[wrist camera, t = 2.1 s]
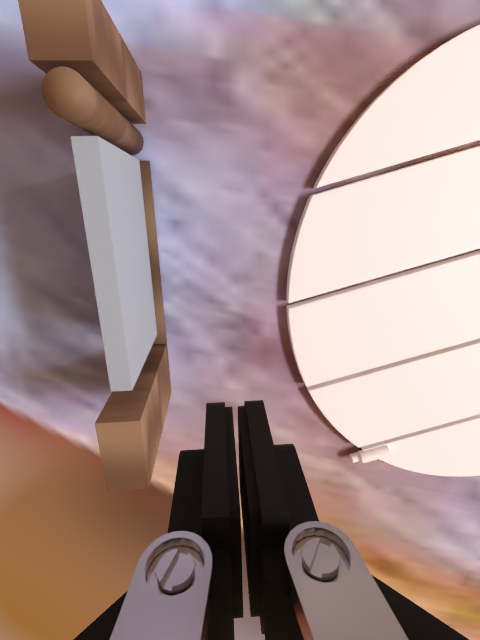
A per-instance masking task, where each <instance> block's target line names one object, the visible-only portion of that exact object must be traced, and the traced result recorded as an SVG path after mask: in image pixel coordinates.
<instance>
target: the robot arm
mask: <svg viewBox="0 0 480 640" xmlns="http://www.w3.org/2000/svg"><path fill="white" fill-rule="evenodd" d="M238 437H239V476H240V494H241V506H242V518H243V530H244V542H245V553H246V564H247V565H246V566H247V577H248V589H249V601H250V613H251V617H255V616H260V622H261V631H262V634H265V640H469V639H467V638H466V637H464V636H463V635H461V634H460V633H458V632H457V631H455V630H454V629H452V628H451V627H449V626H448V625H446V624H445V623H443V622H442V621H440V620H439V619H437V618H436V617H434V616H433V615H431V614H430V613H428V612H427V611H425V610H424V609H422V608H421V607H419V606H418V605H416V604H415V603H413V602H412V601H410V600H409V599H407V598H406V597H404V596H403V595H401V594H400V593H398V592H397V591H395V590H394V589H392V588H391V587H389V586H388V585H386V584H385V583H383V582H381V581H380V580H378V579H377V578H375V577H374V576H372V575H371V573H370V571H369V570H368V568H367V566H366V564H365V563H364V561H363V559H362V557H361V556H360V554H359V552H358V550H357V549H356V547H355V545H354V544H353V542H352V541H351V540H350V539H349V537H348V536H347V535H346V534H345V533H343V532H342V531H341V530H340V529H338V528H337V527H335V526H332V525H330V524H328V523H324V522H319V520H318V517H317V514H316V511H315V508H314V504H313V501H312V498H311V495H310V492H309V489H308V486H307V483H306V480H305V477H304V474H303V471H302V468H301V465H300V462H299V459H298V455H297V452H296V449H295V447H294V445H293V444H283V445H274V444H273V440H272V436H271V432H270V428H269V424H268V420H267V415H266V411H265V407H264V403H263V400H260V401H245V403H244V406H239V407H238ZM241 554H242V553H241V519H240V502H239V489H238V476H237V464H236V451H235V438H234V426H233V413H232V407H225V402H222V403H207V405H206V425H205V445H204V449H200V450H184V451H180V455H179V461H178V468H177V474H176V481H175V488H174V494H173V501H172V508H171V515H170V521H169V528H168V534H165V535H162V536H161V537H159V538H158V539H156V540H155V541H153V542H152V543H151V545H149V546H148V547H147V549H146V550H145V551H144V552H143V554H142V556H141V558H140V560H139V562H138V565H137V567H136V570H135V573H134V575H133V578H132V581H131V583H130V586H129V589H128V591H127V592H126V593H125V594H123V595H122V597H120V598H119V599H118V600H117V601H116V602H115V603H114V604H112V605H111V606H110V607H109V608H108V609H107V610H106V611H105V612H104V613H102V614H101V615H100V616H99V617H98V618H97V619H96V620H95V621H94V622H93V623H91V624H90V625H89V626H88V627H87V628H86V629H85V630H84V631H83V632H81V633H80V634H79V635H78V636H77V637H76V638H75V639H74V640H234V618H243V593H242V555H241Z"/></svg>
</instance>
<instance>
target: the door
mask: <svg viewBox="0 0 480 640" xmlns="http://www.w3.org/2000/svg"><path fill="white" fill-rule="evenodd" d="M70 137H71V143H72V149H73V156H74V162H75V168H76V175H77V181H78V187H79V194H80V200H81V206H82V212H83V219H84V225H85V231H86V238H87V244H88V250H89V257H90V263H91V269H92V276H93V282H94V288H95V295H96V301H97V307H98V314H99V320H100V326H101V333H102V339H103V345H104V352H105V358H106V364H107V370H108V377H109V383H110V389H111V392H113V391H132V390H133V388H134V385H135V383H136V381H137V379H138V376H139V374H140V372H141V370H142V368H143V365H144V363H145V361H146V359H147V356H148V354H149V352H150V350H151V347H152V345H153V343H154V341H155V338H156V336H157V327H156V317H155V307H154V298H153V288H152V278H151V268H150V259H149V249H148V239H147V230H146V220H145V210H144V201H143V191H142V181H141V172H140V162H139V160H138V159H136V158H135V157H133V156H131V155H129V154H128V153H126V152H124V151H123V150H121V149H119V148H118V147H116V146H114V145H112V144H111V143H109V142H107V141H106V140H104V139H102V138H100V137H99V136H70Z"/></svg>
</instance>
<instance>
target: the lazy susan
mask: <svg viewBox="0 0 480 640" xmlns="http://www.w3.org/2000/svg"><path fill="white" fill-rule="evenodd" d="M477 140H480V24H479V25H477V26H475V27H473V28H471V29H469V30H467V31H465V32H463V33H461V34H460V35H458V36H456V37H454V38H452V39H451V40H449V41H447V42H446V43H444V44H443V45H441V46H439V47H438V48H436V49H435V50H434V51H432V52H431V53H429V54H428V55H426V56H425V57H423V58H422V59H421V60H419V61H418V62H417V63H415V64H414V65H412V66H411V67H410V68H409V69H407V70H406V71H405V72H404V73H402V74H401V75H400V76H399V77H398V78H397V79H395V80H394V81H393V82H392V83H391V84H390V85H389V86H388V87H387V88H385V89H384V90H383V91H382V92H381V93H380V94H379V95H378V96H377V97H376V98H375V99H374V100H373V101H372V102H371V104H370V105H369V106H368V107H367V108H366V109H365V110H364V111H363V112H362V114H361V115H360V116H359V117H358V118H357V120H356V121H355V122H354V123H353V124H352V126H351V127H350V128H349V130H348V131H347V132H346V134H345V135H344V136H343V138H342V139H341V141H340V142H339V143H338V145H337V146H336V148H335V149H334V151H333V153H332V154H331V156H330V157H329V159H328V161H327V162H326V164H325V166H324V168H323V169H322V171H321V173H320V175H319V177H318V179H317V181H316V183H315V185H314V187H313V188H318V187H321V186H324V185H328V184H331V183H334V182H338V181H341V180H345V179H348V178H351V177H355V176H358V175H362V174H365V173H368V172H372V171H375V170H379V169H382V168H385V167H389V166H392V165H396V164H399V163H402V162H406V161H409V160H412V159H416V158H419V157H423V156H426V155H429V154H433V153H436V152H440V151H443V150H446V149H450V148H453V147H457V146H460V145H463V144H467V143H470V142H473V141H477ZM479 248H480V145H479V146H476V147H473V148H469V149H466V150H462V151H459V152H456V153H452V154H449V155H445V156H442V157H439V158H435V159H432V160H428V161H425V162H422V163H418V164H415V165H411V166H408V167H405V168H401V169H398V170H394V171H391V172H388V173H384V174H381V175H377V176H374V177H371V178H367V179H364V180H360V181H357V182H354V183H350V184H347V185H344V186H340V187H337V188H333V189H330V190H327V191H323V192H320V193H316V194H313V195H310V196H309V198H308V200H307V203H306V205H305V208H304V210H303V213H302V216H301V219H300V222H299V225H298V228H297V231H296V235H295V239H294V243H293V247H292V251H291V256H290V262H289V269H288V277H287V290H286V301H287V302H288V303H292V302H295V301H298V300H302V299H305V298H309V297H312V296H316V295H319V294H323V293H326V292H330V291H333V290H337V289H340V288H344V287H347V286H351V285H354V284H358V283H361V282H365V281H368V280H371V279H375V278H378V277H382V276H385V275H389V274H392V273H396V272H399V271H403V270H406V269H410V268H413V267H417V266H420V265H424V264H427V263H431V262H434V261H437V260H441V259H444V258H448V257H451V256H455V255H458V254H462V253H465V252H469V251H472V250H476V249H479ZM286 310H287V323H288V331H289V337H290V342H291V347H292V351H293V354H294V358H295V361H296V364H297V367H298V370H299V372H300V375H301V377H302V379H303V381H304V383H305V385H306V387H307V389H308V391H309V393H310V395H311V397H312V398H313V400H314V402H315V403H316V405H317V406H318V408H319V409H320V411H321V412H322V413H323V415H324V416H325V417H326V419H327V420H328V421H329V422H330V423H331V424H332V425H333V427H334V428H335V429H336V430H337V431H338V432H339V433H341V434H342V435H343V436H344V437H345V438H346V439H347V440H349V441H350V442H351V443H353V444H354V445H355V446H357V447H358V448H359V447H361V449H362V450H360V451H357V452H355V453H351V454H350V458H351V460H352V462H353V463H354V462H358V461H360V462H361V463H366V462H369V461H373V460H377V459H379V460H381V461H383V462H386V463H388V464H391V465H393V466H396V467H399V468H402V469H406V470H409V471H413V472H418V473H423V474H429V475H437V476H478V475H480V250H479V251H475V252H472V253H468V254H465V255H461V256H458V257H454V258H451V259H447V260H444V261H440V262H437V263H433V264H430V265H427V266H423V267H420V268H416V269H413V270H409V271H406V272H402V273H399V274H395V275H392V276H388V277H385V278H381V279H378V280H374V281H371V282H367V283H364V284H360V285H357V286H353V287H350V288H346V289H343V290H340V291H336V292H333V293H329V294H326V295H322V296H319V297H315V298H312V299H308V300H305V301H301V302H298V303H294V304H291V305H287V306H286Z"/></svg>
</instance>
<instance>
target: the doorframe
mask: <svg viewBox="0 0 480 640" xmlns="http://www.w3.org/2000/svg"><path fill="white" fill-rule="evenodd" d="M18 1H19V7H20V12H21V18H22V23H23V29H24V34H25V40H26V45H27V51H28V57H29V60H30V61H31V62H32V63H33V64H35V65H36V66H37V67H39V68H40V69H41V70H42V71H44V72H45V73H46V76H45V78H44V81H43V96H44V99H45V101H46V103H47V105H48V106H49V108H50V109H51V110H52V111H53V112H54V113H55V114H57V115H59V116H60V117H62V118H64V119H66V120H67V121H69V122H71V123H73V124H74V125H76V126H78V127H80V128H81V129H83V130H85V131H87V132H88V133H90V134H92V135H94V136H99V137H100V138H102V139H104V140H106V141H107V142H109V143H111V144H112V145H114V146H116V147H118V148H119V149H121V150H123V151H124V152H126V153H128V154H129V155H136V154H138V153H139V152H140V151H141V150H142V148H143V137H142V135H141V133H140V132H139V131H138V130H137V129H136V128H135V127H134V126H133V125H132V124H131V123H146V118H145V107H144V97H143V86H142V76H141V71H140V69H139V68H138V66H137V64H136V62H135V60H134V59H133V57H132V55H131V53H130V51H129V50H128V48H127V46H126V44H125V42H124V41H123V39H122V37H121V35H120V34H119V32H118V30H117V28H116V26H115V25H114V23H113V21H112V19H111V17H110V16H109V14H108V12H107V10H106V8H105V7H104V5H103V3H102V1H101V0H18ZM139 162H140V172H141V181H142V191H143V201H144V210H145V220H146V230H147V239H148V249H149V259H150V268H151V278H152V288H153V298H154V307H155V317H156V327H157V336H156V338H155V341H154V343H153V345H152V347H151V350H150V352H149V354H148V356H147V359H146V361H145V363H144V365H143V368H142V370H141V372H140V374H139V376H138V379H137V381H136V383H135V385H134V388H133V390H132V391H113V392H112V393H111V395H110V397H109V399H108V401H107V402H106V404H105V406H104V408H103V410H102V411H101V413H100V415H99V417H98V419H97V421H96V422H95V427H96V432H97V438H98V443H99V449H100V454H101V460H102V465H103V471H104V476H105V482H106V487H107V491H111V490H125V489H140V488H149V485H150V481H151V477H152V472H153V468H154V464H155V459H156V455H157V451H158V447H159V442H160V438H161V434H162V430H163V425H164V421H165V417H166V412H167V408H168V404H169V400H170V395H171V382H170V372H169V361H168V350H167V344H166V343H167V340H166V329H165V319H164V308H163V298H162V287H161V276H160V266H159V255H158V245H157V234H156V224H155V213H154V202H153V192H152V181H151V171H150V161H139Z"/></svg>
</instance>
